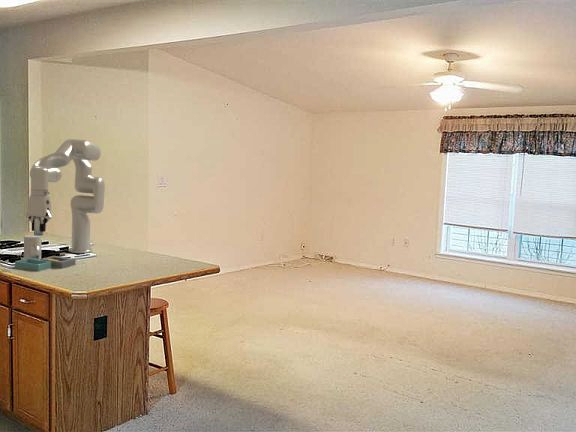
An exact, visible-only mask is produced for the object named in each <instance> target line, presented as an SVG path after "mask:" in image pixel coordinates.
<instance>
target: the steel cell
mask: <svg viewBox="0 0 576 432" xmlns="http://www.w3.org/2000/svg"><path fill="white" fill-rule="evenodd" d="M43 220H44V218H43ZM40 224H41V219H40V217H35V218H34V231H33V235H35V236H41V237H43V236H44V232H40Z"/></svg>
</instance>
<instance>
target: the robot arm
mask: <svg viewBox="0 0 576 432" xmlns="http://www.w3.org/2000/svg"><path fill="white" fill-rule="evenodd" d="M101 155H102V151H101V148H100V146H98V145H97V144H95V143H93V142H91V141H89V140H84V139H71V138H69V139H66V140H64V141H63V142H62V144H61V145H60V146H59V147H58V148H57V149H56V150H55V152H53V153H50V154H48V155H46V156H45V155H44V156H43V157H41V158H39V159H38V160H36V162H35V163H34V164H32V166H31V168H30V171H29V177H30V195H29V199H28V205H27V212H26V214H25V216H26V217H27V218H28V219H29V221H30V223H31V231H32V232H34V218H35V217H40V219H41V224H40V232H43V233H44V232H46V230H47V229H46V228H47V227H46V226H47V223H48V222H49V221H50V220H52V218H53V217H52V205H51V204H52V203H51V198H50V196H49V195H50V191H49V183H57V182H59V181H60V180H61V178H62V171H61V170H60V169H59V168H63V167H66V166H68V165H69V164H70V163H71V162H72V161H73V163H74V167H75V172H74V173H75V174H74V175H75V177H74V189H75V191H76V192H78V193H82V194H77V195H74V196H73V197H71V199H70V209H71V247H70V248H68V252H69V253H73V254H87V253H88V254H89V253H91V252H93V248H92V247H93V246H95V243H94V242H91V239H90V238H91V218H90V216H89V215H88V214H101V212H102V211H103V210H104V203H105V189H106V185H105V181H104V179H103V178H101V177H100V176H93V171H92V170H93V167H92V164H91V163H90V161H94V162H95V161H98V160H99V159H100V158H101ZM83 194H92V195H83ZM43 218H44V219H43Z"/></svg>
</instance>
